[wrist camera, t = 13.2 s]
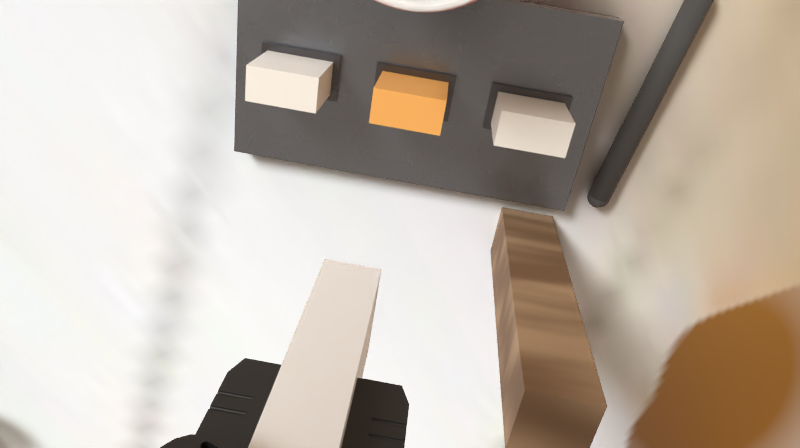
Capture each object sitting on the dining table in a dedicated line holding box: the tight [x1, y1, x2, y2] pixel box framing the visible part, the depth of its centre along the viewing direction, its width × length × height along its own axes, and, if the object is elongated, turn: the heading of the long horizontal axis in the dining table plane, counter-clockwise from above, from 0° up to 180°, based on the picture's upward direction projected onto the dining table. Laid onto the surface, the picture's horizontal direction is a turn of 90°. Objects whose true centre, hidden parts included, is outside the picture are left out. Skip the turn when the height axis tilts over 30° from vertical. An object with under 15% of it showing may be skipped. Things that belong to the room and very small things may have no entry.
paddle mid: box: [369, 71, 449, 136], centre depth 35 cm, size 2×4×4 cm, turn 81°
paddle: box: [245, 51, 333, 114], centre depth 35 cm, size 2×4×4 cm, turn 81°
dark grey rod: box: [587, 0, 713, 207], centre depth 36 cm, size 14×1×1 cm, turn 163°
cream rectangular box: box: [491, 91, 575, 158], centre depth 34 cm, size 2×4×4 cm, turn 81°
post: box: [491, 208, 607, 448], centre depth 34 cm, size 4×4×18 cm
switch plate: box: [234, 0, 624, 211], centre depth 37 cm, size 12×22×2 cm, turn 81°
